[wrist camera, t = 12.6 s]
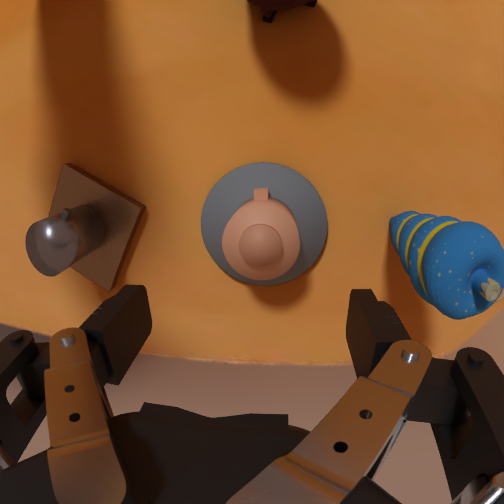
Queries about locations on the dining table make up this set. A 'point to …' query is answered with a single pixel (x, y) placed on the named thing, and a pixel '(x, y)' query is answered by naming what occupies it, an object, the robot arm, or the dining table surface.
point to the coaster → (280, 187)
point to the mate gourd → (278, 6)
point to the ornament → (450, 262)
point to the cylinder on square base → (84, 229)
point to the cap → (261, 237)
